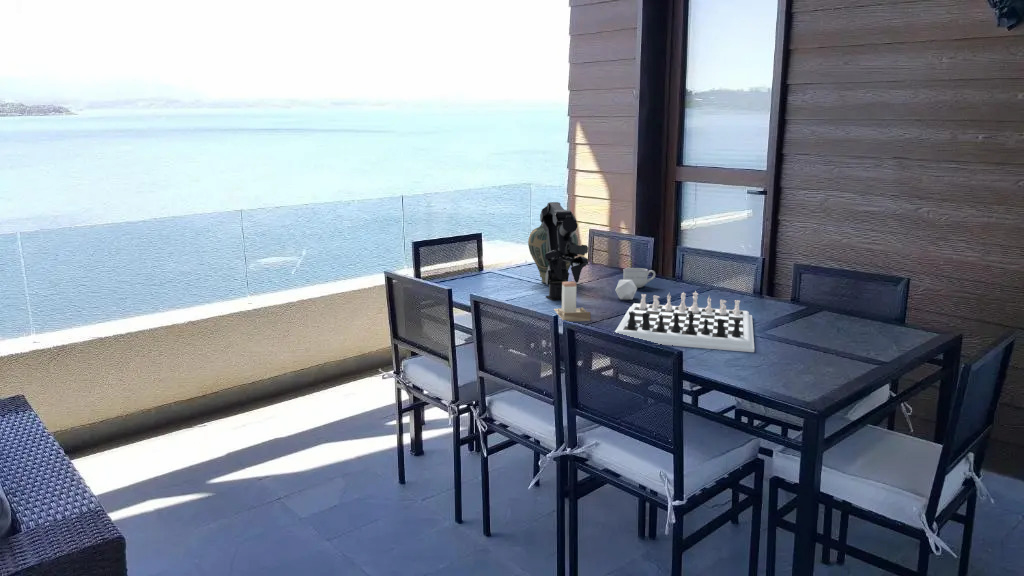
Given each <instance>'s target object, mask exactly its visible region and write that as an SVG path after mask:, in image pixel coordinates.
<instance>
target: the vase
mask: <svg viewBox="0 0 1024 576" xmlns="http://www.w3.org/2000/svg"><path fill="white" fill-rule="evenodd" d="M558 228H560V226H559V227H558ZM557 230H558V229H557ZM572 239H573V243H575V244H576V245H579V240H578V239H579V238H578V235H577V233H576V231H575V232H574V234H573V235H572ZM527 242H528V243H527V245H528V249H529V253H530V256H531V257H532V259H533V261H534V263H535V265H536V268H537V270H538V272H539V277H540V279H541V282H542V283H545V276H546V272H547V269H548V266H549V263H548V261H545V254H546V253H547V252H549V245H548V237H547V232H546V231H545V229H544V228H543V227H542V222H540V225H539V226H538V227H535V228H534V229H532V230H531V232H530V234H529V236H528V241H527ZM574 258H576V257H574ZM565 262H566V268H567V270H568V271H569V269H571V267H572V266H571V263H570V262H567V261H565ZM549 281H550V280H549ZM545 284H546V283H545Z"/></svg>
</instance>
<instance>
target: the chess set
mask: <svg viewBox="0 0 1024 576" xmlns="http://www.w3.org/2000/svg"><path fill="white" fill-rule="evenodd" d="M640 295H641V299H640V303H635V302H633V303H632V305H631V306H629V308H628V310H627V311H626V312H625V315H624V316H623V317H622V320H620V322H619V324H618V326H617V328H616V329H615V331H614V332H616V333H619V334H623V335H627V336H630V337H634V338H639V339H643V340H647V341H651V342H654V343H658V344H657V345H660V344H662V346H672V345H673V346H674V347H683V348H684V347H686V348H697V349H707V350H709V349H710V350H721V351H723V350H724V351H733V352H735V351H736V352H745V353H747V352H748V353H755V342H754V341H755V339H754V326H753V323H754V322H753V315H752V314H750V312H749V311H748V310H740V303H741V300H738V299H737V300H736V299H735V300H734V309H727V305H726V303H727V300H725V299H720V300H719V308H712V302H711V301H712V298H711V297H710V296H711V295H708V298H707V306H706V307H699V306H698V298H699V296H698V295H699V293H697V291H696V290H695V291H694V292H692V295H693V296H692V300H693V301H692V302H693V303H692V305H691V306H687V305H686V302H685V301H686V298H687V297H686V293H685V292H684V291H683V292H682V293H680V298H681V299H680V300H681V301H680V305H672V303H671V300H672V299H671V298H672V296H671V294H670V293H668V294H667V296H666V300H667V303H666V304H665V305H664V304H663V305H662V304H660V301H659V299H660V298H661V297H660V296H659V295H653V296H652V297H653V298H652V299H653V302H652V304H651V303H650V304H649V303H646V298H647V294H645V293H644V294H643V293H641V294H640ZM673 346H672V347H673Z"/></svg>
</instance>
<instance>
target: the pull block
mask: <svg viewBox="0 0 1024 576" xmlns="http://www.w3.org/2000/svg"><path fill="white" fill-rule="evenodd" d="M576 308H577V283H576V282H575V280H574V281H568V282H562V299H561V309H562V310H563V311H564V313H568V312H576Z"/></svg>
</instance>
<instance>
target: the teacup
mask: <svg viewBox="0 0 1024 576" xmlns="http://www.w3.org/2000/svg"><path fill="white" fill-rule="evenodd" d="M622 270H623V274H622V275H623V278H622V280H632V281H633V282H634V284H635V286H636V287H637V289H638V288H644V286H645V285H647V284H649V282H650V281H652V280H653V279H655V277H656V271H655V270H652V269H651V270H649V269H647V268H643V267H642V268H641V267H628V268H627V267H626V268H623V269H622ZM650 273H652V276H651V277H650V278H648V276H649V274H650Z"/></svg>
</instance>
